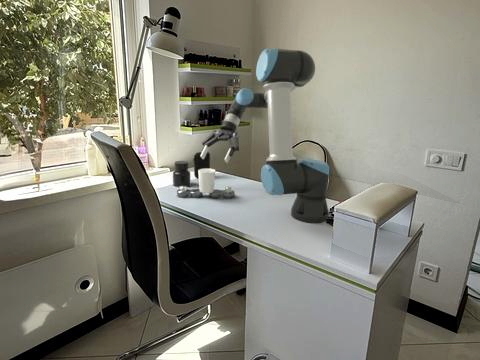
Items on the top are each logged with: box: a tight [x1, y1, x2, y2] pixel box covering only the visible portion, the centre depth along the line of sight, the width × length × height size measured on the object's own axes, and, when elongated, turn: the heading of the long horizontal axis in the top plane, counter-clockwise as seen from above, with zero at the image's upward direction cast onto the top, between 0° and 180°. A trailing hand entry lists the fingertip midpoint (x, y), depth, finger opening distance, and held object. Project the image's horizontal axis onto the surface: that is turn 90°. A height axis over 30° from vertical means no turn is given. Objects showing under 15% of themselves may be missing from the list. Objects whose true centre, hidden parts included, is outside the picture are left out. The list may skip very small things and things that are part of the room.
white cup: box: [198, 168, 216, 194], centre depth 149 cm, size 8×8×10 cm
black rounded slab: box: [192, 151, 211, 179], centre depth 179 cm, size 11×3×15 cm, turn 127°
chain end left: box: [176, 186, 204, 199], centre depth 150 cm, size 6×12×4 cm, turn 91°
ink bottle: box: [172, 160, 191, 188], centre depth 166 cm, size 10×9×12 cm
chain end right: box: [208, 186, 236, 200], centre depth 150 cm, size 6×12×4 cm, turn 91°
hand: (213, 159), depth 152 cm, fingers open, 13 cm apart
